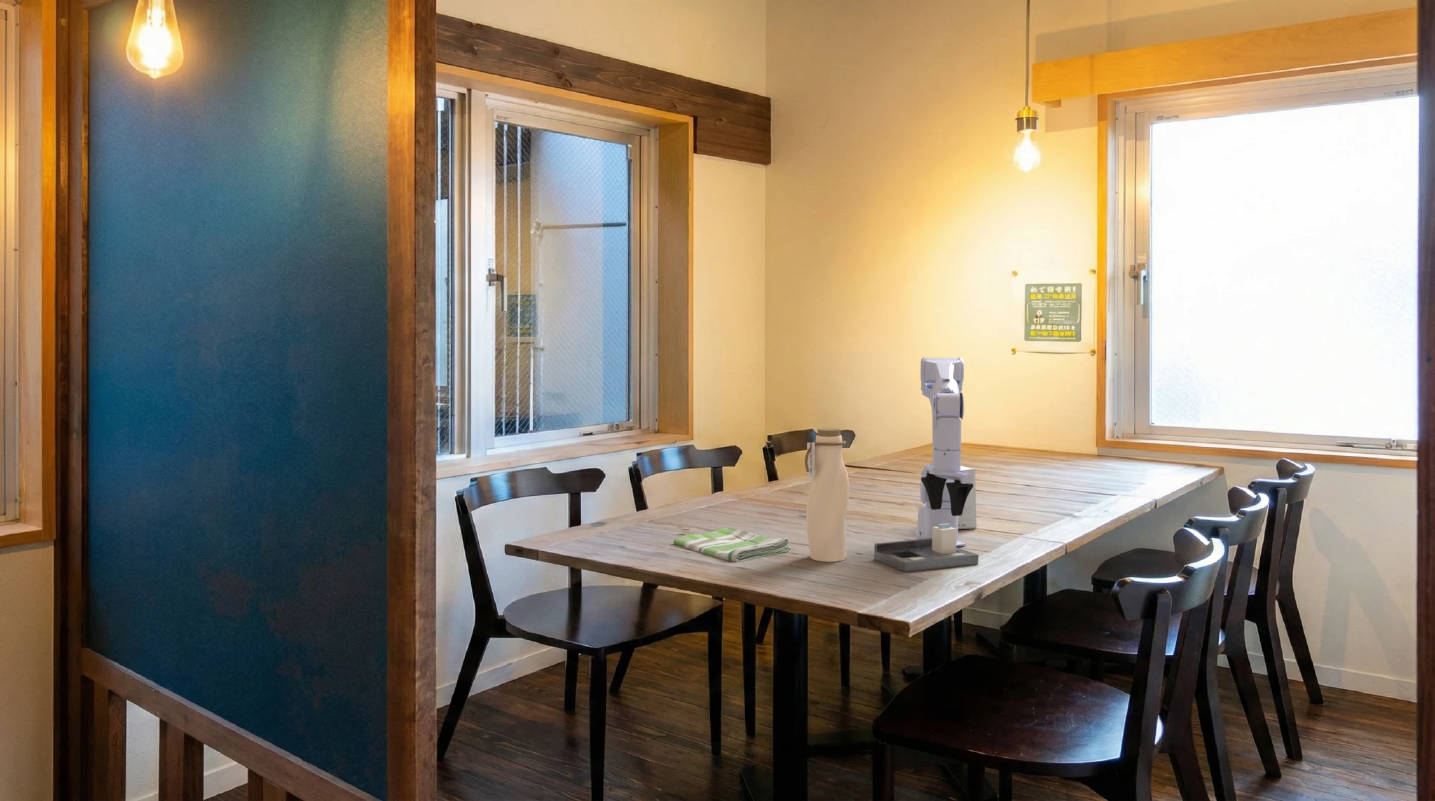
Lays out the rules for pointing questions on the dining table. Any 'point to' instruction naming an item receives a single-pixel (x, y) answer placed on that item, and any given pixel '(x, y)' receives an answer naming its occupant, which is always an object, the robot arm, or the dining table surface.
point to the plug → (944, 539)
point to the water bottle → (827, 496)
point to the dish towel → (734, 544)
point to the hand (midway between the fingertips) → (946, 512)
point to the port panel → (920, 556)
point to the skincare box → (969, 505)
